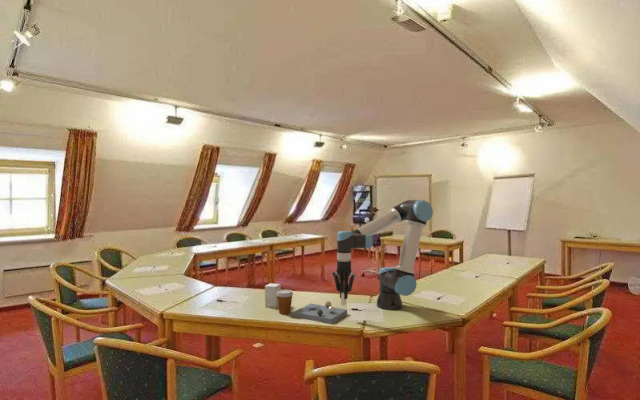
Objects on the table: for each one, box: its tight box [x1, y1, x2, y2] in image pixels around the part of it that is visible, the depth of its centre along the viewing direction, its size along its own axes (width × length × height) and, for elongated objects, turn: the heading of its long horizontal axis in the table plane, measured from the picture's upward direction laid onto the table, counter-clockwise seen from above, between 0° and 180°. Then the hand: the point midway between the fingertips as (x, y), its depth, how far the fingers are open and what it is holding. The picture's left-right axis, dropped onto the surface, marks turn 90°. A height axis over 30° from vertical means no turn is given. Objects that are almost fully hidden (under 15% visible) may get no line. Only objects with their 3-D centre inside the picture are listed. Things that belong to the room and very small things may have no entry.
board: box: [292, 303, 348, 325], centre depth 200 cm, size 24×18×2 cm
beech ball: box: [324, 300, 332, 308], centre depth 206 cm, size 4×4×4 cm
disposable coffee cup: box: [276, 289, 294, 315], centre depth 206 cm, size 10×10×12 cm
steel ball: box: [328, 305, 335, 313], centre depth 197 cm, size 4×4×4 cm
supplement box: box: [264, 282, 282, 309], centre depth 219 cm, size 7×7×13 cm
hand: (343, 304), depth 193 cm, fingers closed
